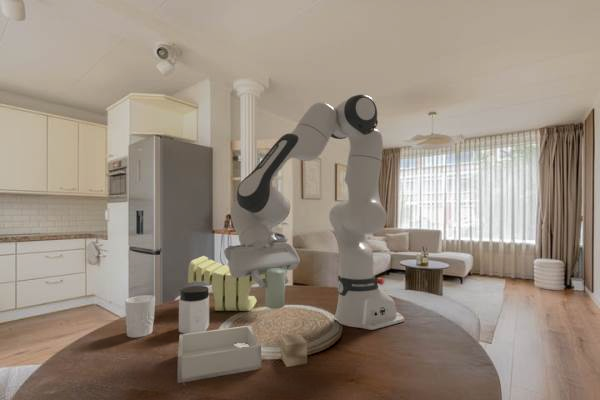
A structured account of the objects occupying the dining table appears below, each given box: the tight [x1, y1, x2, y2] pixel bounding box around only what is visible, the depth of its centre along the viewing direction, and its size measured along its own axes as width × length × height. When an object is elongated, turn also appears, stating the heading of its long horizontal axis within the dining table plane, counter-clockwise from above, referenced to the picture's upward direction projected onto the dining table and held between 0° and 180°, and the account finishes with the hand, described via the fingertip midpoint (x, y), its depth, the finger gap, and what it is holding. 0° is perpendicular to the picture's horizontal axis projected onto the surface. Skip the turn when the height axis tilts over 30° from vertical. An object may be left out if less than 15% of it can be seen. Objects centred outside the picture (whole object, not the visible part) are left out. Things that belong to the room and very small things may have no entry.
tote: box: [177, 325, 262, 384], centre depth 74 cm, size 18×14×5 cm
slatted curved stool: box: [187, 255, 266, 312], centre depth 117 cm, size 30×16×18 cm, turn 88°
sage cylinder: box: [264, 268, 286, 310], centre depth 81 cm, size 5×5×9 cm
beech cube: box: [280, 333, 308, 368], centre depth 75 cm, size 5×5×5 cm
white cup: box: [124, 294, 156, 339], centre depth 91 cm, size 8×8×10 cm
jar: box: [178, 285, 210, 334], centre depth 95 cm, size 9×8×12 cm
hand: (275, 284), depth 81 cm, fingers closed on sage cylinder, 5 cm apart
